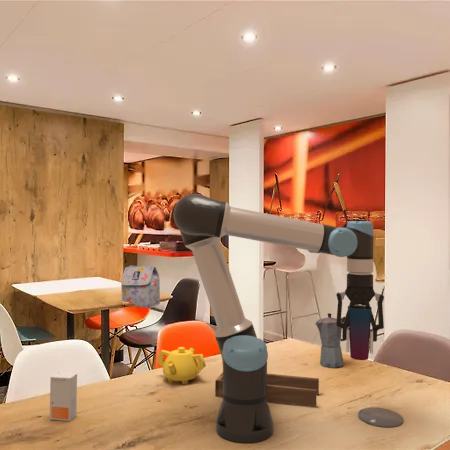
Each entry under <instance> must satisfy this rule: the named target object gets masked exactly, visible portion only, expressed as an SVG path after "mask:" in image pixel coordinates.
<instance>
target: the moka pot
mask: <svg viewBox="0 0 450 450" xmlns="http://www.w3.org/2000/svg"><path fill="white" fill-rule="evenodd" d="M344 319H345V316H342V317H341V322H342V323H343V322H344ZM336 321H337V317H336V318H335V317H332V313H330V312H329V313H327V317H325V318H320V319H317V321H316V322H315V323H314V325H315V326H316V328H317V329H318V332H319V337H320V342H321V347H320V358H319V359H320V361H319V363H320V366H322V367H324V368H330V369H332V368H333V369H334V368H336V369H337V368H341V367H343V366H344V364H345V363H344V358H343V351H342V347H341V342H345V341H346V340H343V338H342V331H343V329H342V328H341V327H338V326H337V325H336ZM347 328H349V323H348V326H347Z"/></svg>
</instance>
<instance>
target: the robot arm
mask: <svg viewBox="0 0 450 450" xmlns="http://www.w3.org/2000/svg"><path fill="white" fill-rule="evenodd" d="M172 215H173V221H174V223H175V225H176V227H177V228H178V229H179V232H180V235H181V238H182V242H183V245H184V246H185V248H187V249H189V250H190V251H192V255H193V257H194V261H195V264H196V266H197V270H198V273H199V276H200V278H201V279H200V280H201V282H202V285H203V287H204V291H205V293H206V297H207V300H208V302H209V305H210V309H211V312H212V314H213V318H214V321H215V324H216V327H217V328H216V330H215V332H214V337H215V340H216V343H217V347H218V350H219V353H220V356H221V363H222V372H223V397H222V401H221V404H220V407H219V410H218V414H217V416H216V420H215V432H216V433H217V435H218V436H220V437H221V438H223V439H224V440H228V441H231V442H236V443H243V444H244V443H256V442H261V441H264V440H267V439H268V438H269V437H270V438H271V436H272V435H273V434H274V419H273V417H272V412H271V410H270V407H269V404H268V403H269V402H267V374H268V359H269V358H268V357H269V352H268V346H267V344H266V343H265V341H264V340H263V339H262V338H259V337H258V336H257V333H256V331H255V327H254V325H253V322H252V320H249V319H248V318H246V316H245V314H244V311H243V307H242V304H241V302H240V298H239V295H238V292H237V289H236V286H235V283H234V280H233V277H232V274H231V271H230V267H229V266H228V261H227V260H226V256H225V254H224V250H223V247H222V245H221V238H222V237H224V236H229V237H236V238H240V239H241V238H242V239H247V240H251V241H257V242H262V243H268V244H274V245H278V246H283V247H290V248H295V249H300V250H305V251H307V252H308V253H312V254H326V255H330V256H335V257H339V258H346V271H347V272H348V273H347V274H346V289H345V290H344V291H341V292H339V291H337V292H336V294H335V295H336V298H337V299H336V300H337V311H336V319H337V321H336V325H337V326H338V327H341V328H342V332H341V338H342V339H343V340H345V341H346V343H345V344H346V345H345V346H346V347H345V348H346V349H345V350H346V353H350V339H349V328H347V326H348V323H349V309H348V308H347V310H346V314H345V316H344V317H345V319H344V322H343V323H342V322H341V318H342V312H343V300H344V299H345V296H346V297H347V299H348V300H349V305H348V306H349V307H350V308H354V306H355V305H364V306H366V309H370V308H372V306H371V304H370V302H371V301H372V300H373V298H375V301H376V303H377V319H378V321H377V322H378V324H377V323H376V321H375V317H374V314H373V310H372V311H371V317H370V321H371V325H370V326H371V327H372V328H370V339H369V353H370V355H373V354H374V343H375V342H377V341H378V331H379V330H383V329H384V328H385V325H384V313H383V312H384V311H383V310H384V308H383V307H384V306H383V302H384V299H385V296H384V294H383V293H378V292H376V291H375V289H374V275H373V274H372V273H374V240H375V239H374V238H375V236H374V235H375V234H374V225H373V222H371V221H370V220H359V221H358V220H349V221H347V223H346V226H345V227H344V226H342V227H341V226H339V227H337V226H333V225H328V224H322V223H317V222H312V221H308V220H307V221H306V220H302V219H297V218H291V217H286V216H281V215H276V214H270V213H264V212H260V211H255V210H254V211H253V210H249V209H244V208H239V207H233V206H231V205H230V204H229V202H227V201H222V200H219V199H215V198H212V197H208V196H205V195H203V194H201V193H189V194H186V195H183V196H182V197H181V198H179V200H178V201H177V202H176V204H175V206H174V210H173V214H172Z"/></svg>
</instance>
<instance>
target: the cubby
mask: <svg viewBox="0 0 450 450" xmlns="http://www.w3.org/2000/svg"><path fill="white" fill-rule="evenodd" d="M214 382H215V384H214V385H215V391H214V392H215V393H214V394H215V397H217V398H223V371H222V372H221V374H220V375H219V376H218V377H216V379H215V381H214ZM319 387H320V379H319V378H317V377H307V376H298V375H285V374H275V373H267V403H270V404H271V403H272V404H281V405H290V406H298V407H306V408H307V407H308V408H317V396H319V394H320V392H319V391H320V388H319Z"/></svg>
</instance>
